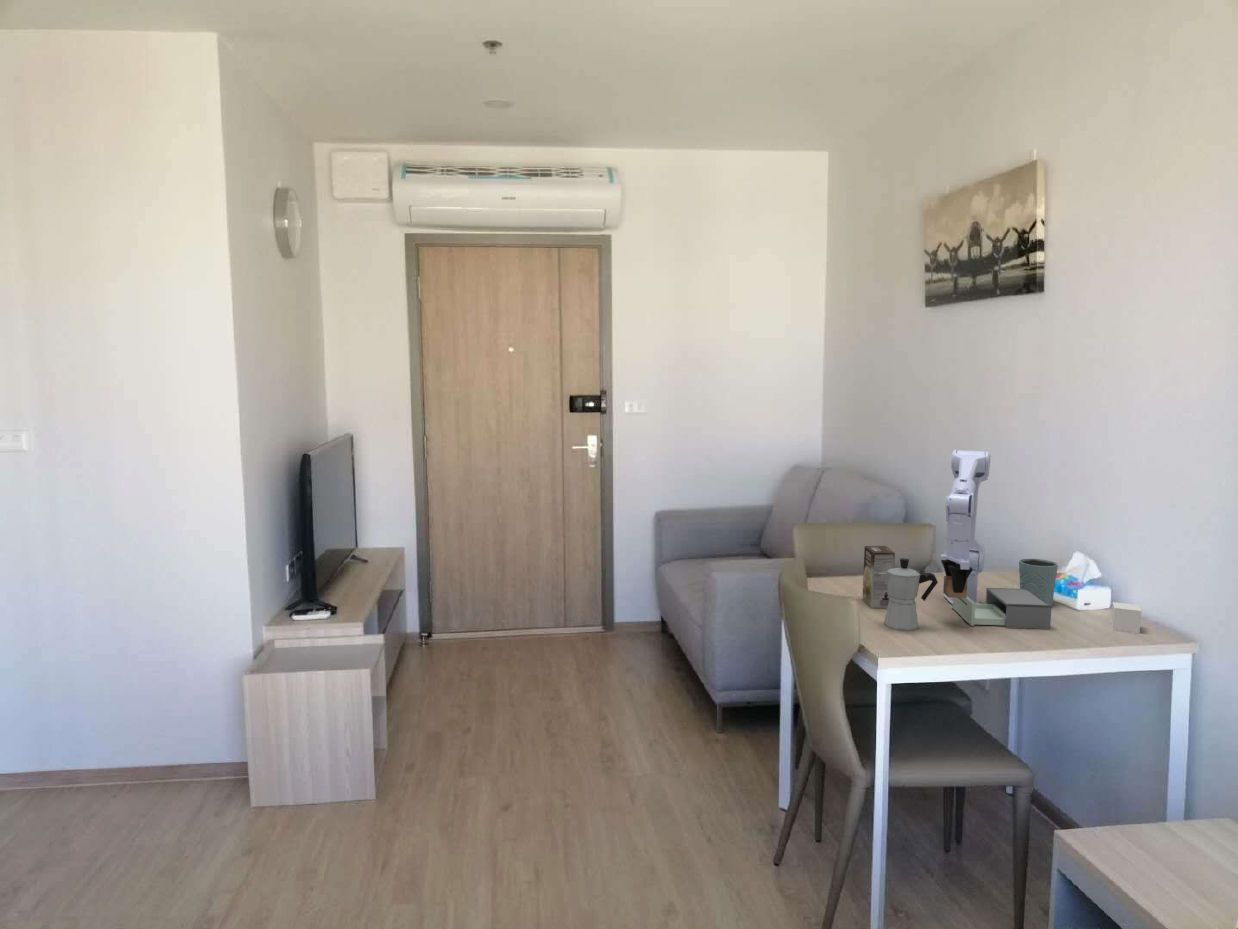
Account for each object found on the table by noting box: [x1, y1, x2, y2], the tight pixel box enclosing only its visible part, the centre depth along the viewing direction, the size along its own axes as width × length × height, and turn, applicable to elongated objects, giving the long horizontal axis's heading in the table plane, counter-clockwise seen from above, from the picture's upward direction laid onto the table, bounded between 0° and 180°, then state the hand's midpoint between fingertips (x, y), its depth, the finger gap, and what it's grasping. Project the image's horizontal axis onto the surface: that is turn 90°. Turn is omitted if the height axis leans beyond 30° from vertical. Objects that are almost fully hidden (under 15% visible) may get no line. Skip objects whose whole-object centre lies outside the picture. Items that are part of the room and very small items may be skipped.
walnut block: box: [942, 575, 968, 598], centre depth 220 cm, size 5×5×4 cm
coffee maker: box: [879, 557, 939, 632], centre depth 218 cm, size 15×9×18 cm, turn 82°
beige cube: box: [1110, 601, 1142, 634], centre depth 218 cm, size 6×6×6 cm
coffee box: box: [862, 545, 896, 609], centre depth 239 cm, size 9×6×16 cm
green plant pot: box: [1018, 558, 1059, 606], centre depth 241 cm, size 10×10×12 cm
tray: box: [952, 596, 1006, 627], centre depth 226 cm, size 16×11×6 cm
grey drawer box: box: [985, 587, 1053, 630], centre depth 225 cm, size 16×11×6 cm
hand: (955, 589), depth 220 cm, fingers closed on walnut block, 5 cm apart
